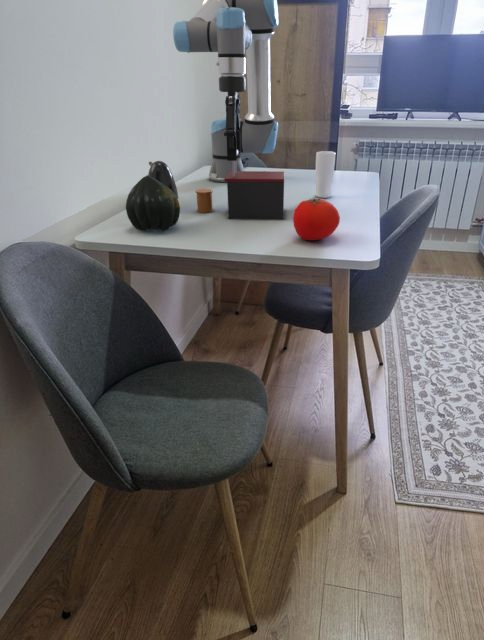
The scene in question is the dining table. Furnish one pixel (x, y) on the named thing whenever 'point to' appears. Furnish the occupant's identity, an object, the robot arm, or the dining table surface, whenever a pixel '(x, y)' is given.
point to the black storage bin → (255, 200)
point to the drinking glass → (324, 173)
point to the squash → (152, 205)
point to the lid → (252, 175)
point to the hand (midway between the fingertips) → (234, 157)
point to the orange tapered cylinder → (204, 200)
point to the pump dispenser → (162, 175)
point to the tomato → (315, 219)
